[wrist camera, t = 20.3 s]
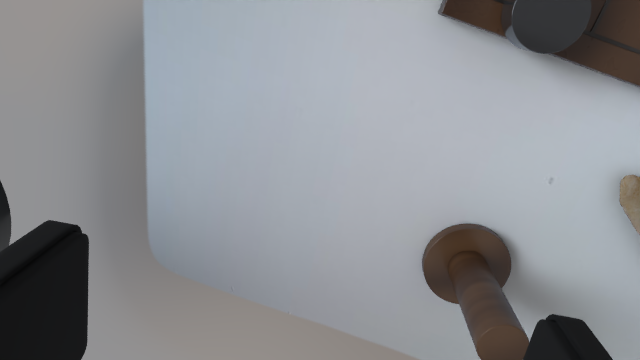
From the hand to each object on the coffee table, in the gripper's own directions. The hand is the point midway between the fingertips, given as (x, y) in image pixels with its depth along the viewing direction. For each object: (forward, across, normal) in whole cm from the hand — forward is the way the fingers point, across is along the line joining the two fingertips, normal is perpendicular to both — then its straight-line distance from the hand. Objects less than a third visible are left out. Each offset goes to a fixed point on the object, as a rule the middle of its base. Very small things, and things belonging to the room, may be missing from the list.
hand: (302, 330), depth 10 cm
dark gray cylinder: (+27, -12, -8) cm, 30 cm away
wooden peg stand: (+28, -13, +11) cm, 33 cm away
